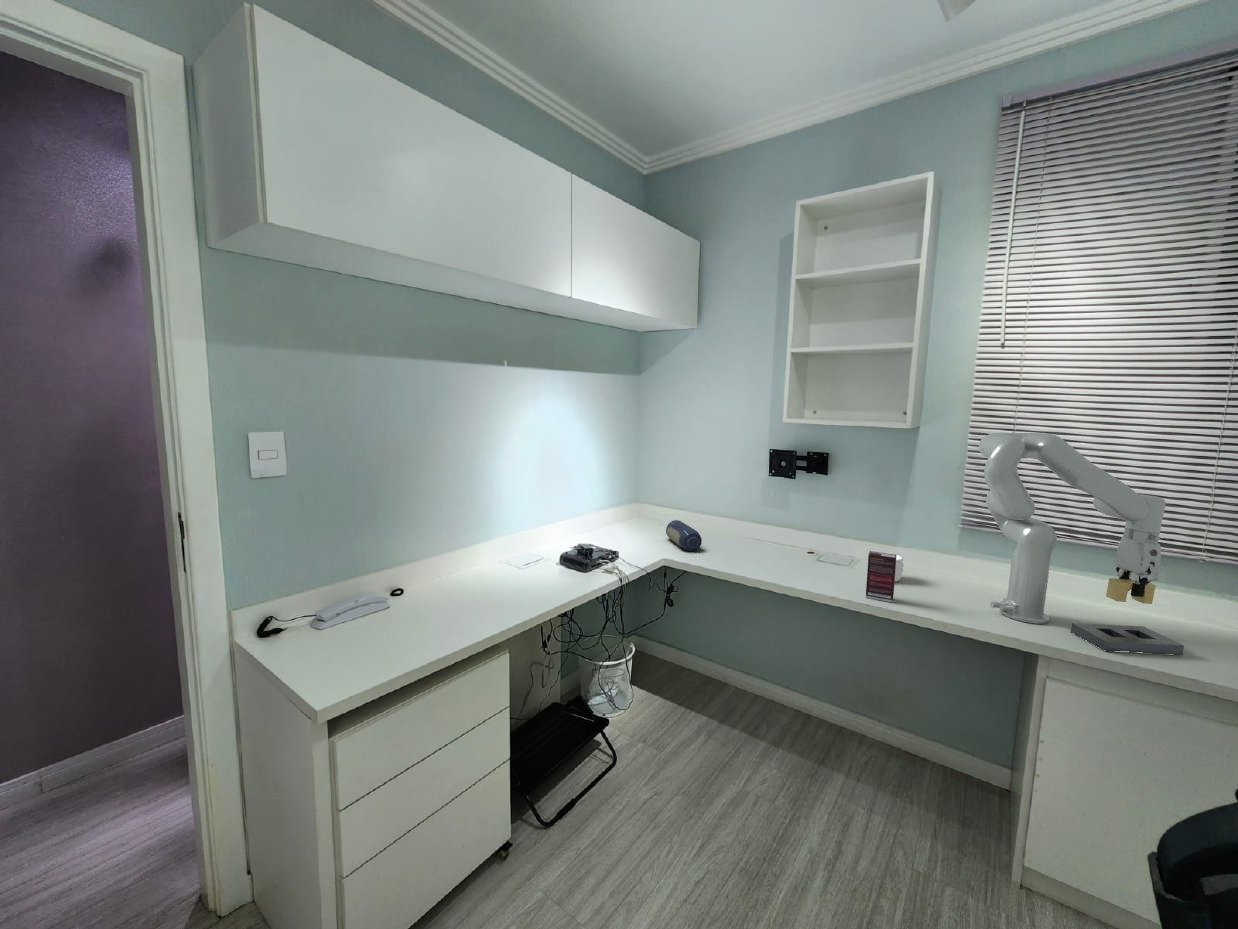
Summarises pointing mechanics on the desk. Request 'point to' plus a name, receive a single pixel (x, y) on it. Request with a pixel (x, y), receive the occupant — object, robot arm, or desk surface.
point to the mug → (898, 567)
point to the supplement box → (881, 576)
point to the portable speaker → (683, 535)
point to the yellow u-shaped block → (1120, 589)
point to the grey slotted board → (1126, 638)
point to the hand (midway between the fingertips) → (1129, 592)
